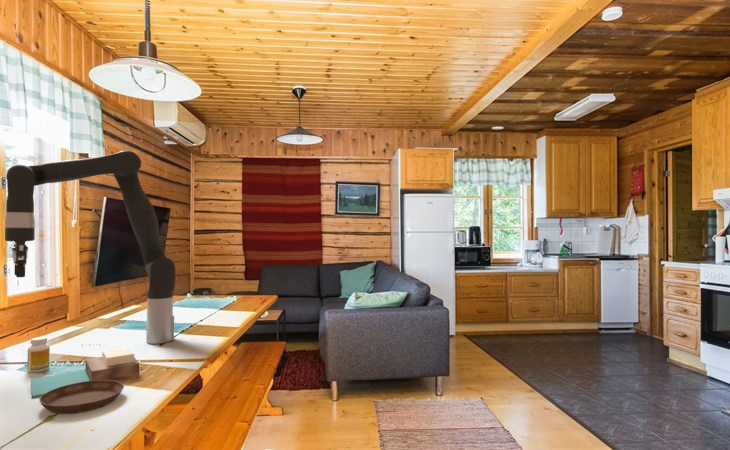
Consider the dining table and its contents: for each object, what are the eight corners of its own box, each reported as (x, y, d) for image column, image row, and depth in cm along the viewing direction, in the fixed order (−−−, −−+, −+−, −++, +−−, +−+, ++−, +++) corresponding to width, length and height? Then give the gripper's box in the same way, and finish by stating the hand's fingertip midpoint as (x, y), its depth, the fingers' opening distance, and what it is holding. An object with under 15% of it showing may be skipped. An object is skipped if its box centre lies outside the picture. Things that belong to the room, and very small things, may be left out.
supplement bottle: (53, 368, 132) (54, 337, 132) (35, 373, 127) (35, 341, 127) (41, 366, 133) (42, 335, 134) (23, 371, 128) (23, 339, 128)
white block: (128, 354, 133) (128, 347, 133) (133, 361, 126) (134, 353, 126) (102, 358, 128) (102, 351, 128) (106, 366, 121) (107, 358, 121)
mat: (84, 371, 128) (85, 369, 128) (91, 386, 116) (91, 384, 116) (30, 381, 120) (30, 378, 120) (31, 398, 108) (32, 395, 108)
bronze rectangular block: (129, 364, 135) (130, 352, 135) (139, 376, 124) (139, 363, 125) (85, 372, 128) (85, 359, 128) (91, 385, 117) (91, 371, 117)
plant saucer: (108, 385, 118) (108, 374, 118) (135, 401, 107) (135, 389, 107) (30, 405, 104) (30, 392, 105) (51, 426, 93) (51, 412, 93)
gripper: (36, 226, 134) (36, 277, 134) (32, 226, 145) (32, 273, 145) (5, 226, 129) (5, 279, 129) (4, 226, 140) (3, 275, 140)
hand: (19, 276), depth 137 cm, fingers open, 8 cm apart
